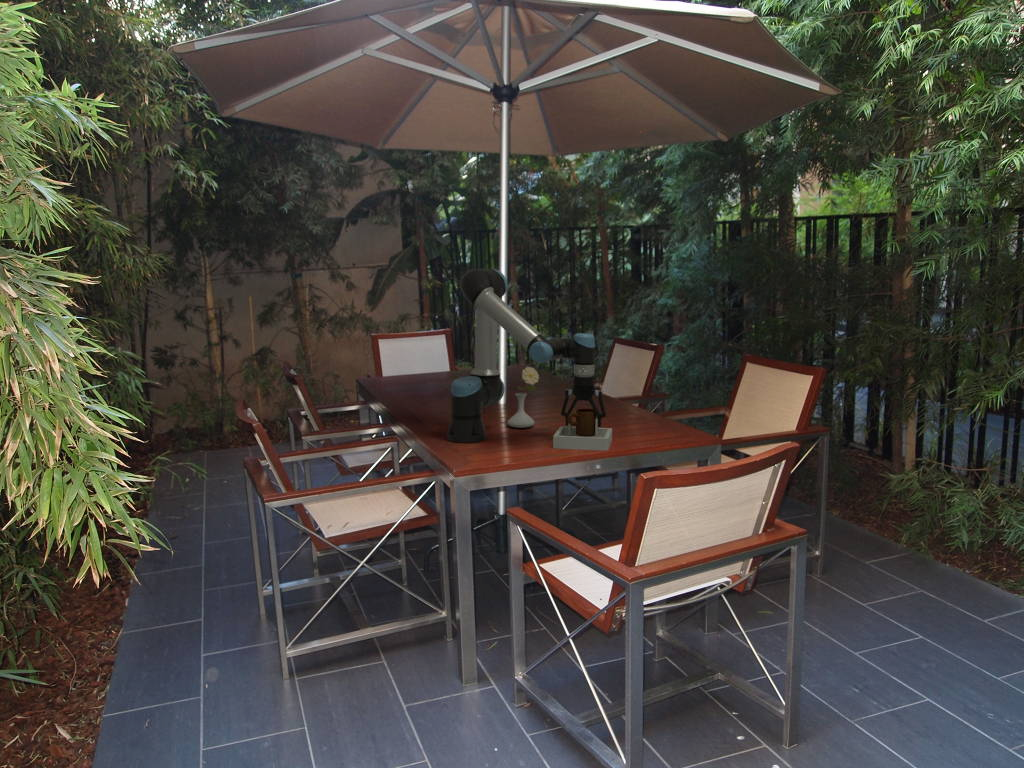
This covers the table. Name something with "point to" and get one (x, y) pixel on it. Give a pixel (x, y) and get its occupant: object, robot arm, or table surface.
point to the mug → (583, 422)
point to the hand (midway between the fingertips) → (583, 434)
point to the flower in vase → (521, 417)
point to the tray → (582, 439)
